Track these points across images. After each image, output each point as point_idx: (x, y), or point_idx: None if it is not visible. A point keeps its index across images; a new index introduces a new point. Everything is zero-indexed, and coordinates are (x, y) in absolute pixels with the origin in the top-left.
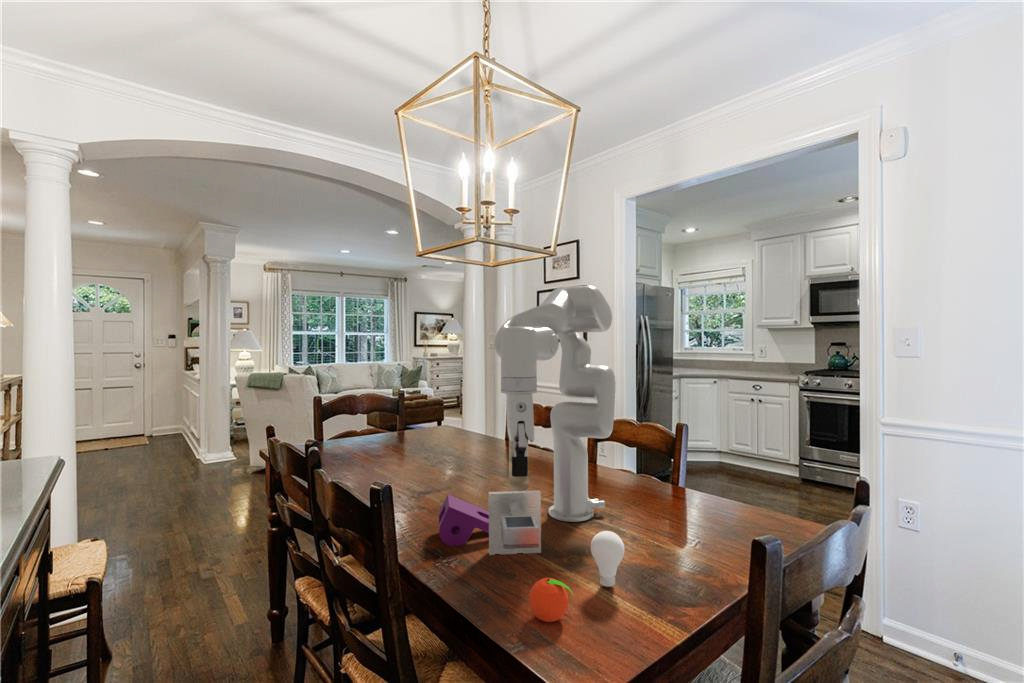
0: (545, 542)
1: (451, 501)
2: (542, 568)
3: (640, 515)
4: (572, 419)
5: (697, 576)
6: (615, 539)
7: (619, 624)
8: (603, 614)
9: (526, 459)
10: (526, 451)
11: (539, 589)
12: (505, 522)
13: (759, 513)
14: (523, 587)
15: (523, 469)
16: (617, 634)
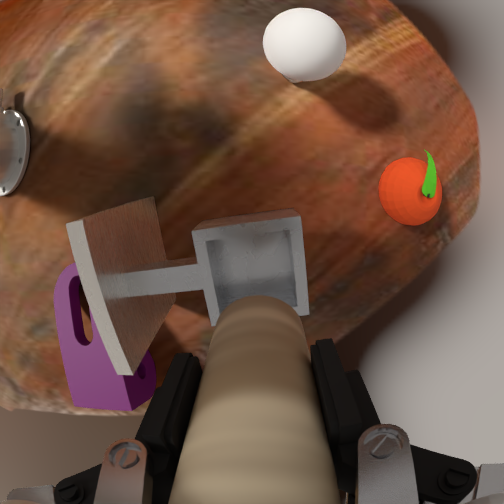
0: (107, 189)
1: (99, 402)
2: (223, 191)
3: (21, 37)
4: None
5: None
6: (330, 20)
7: (401, 86)
8: (380, 100)
9: (357, 413)
10: (409, 461)
11: (434, 212)
12: None
13: None
14: (302, 228)
15: (360, 381)
16: (422, 97)
